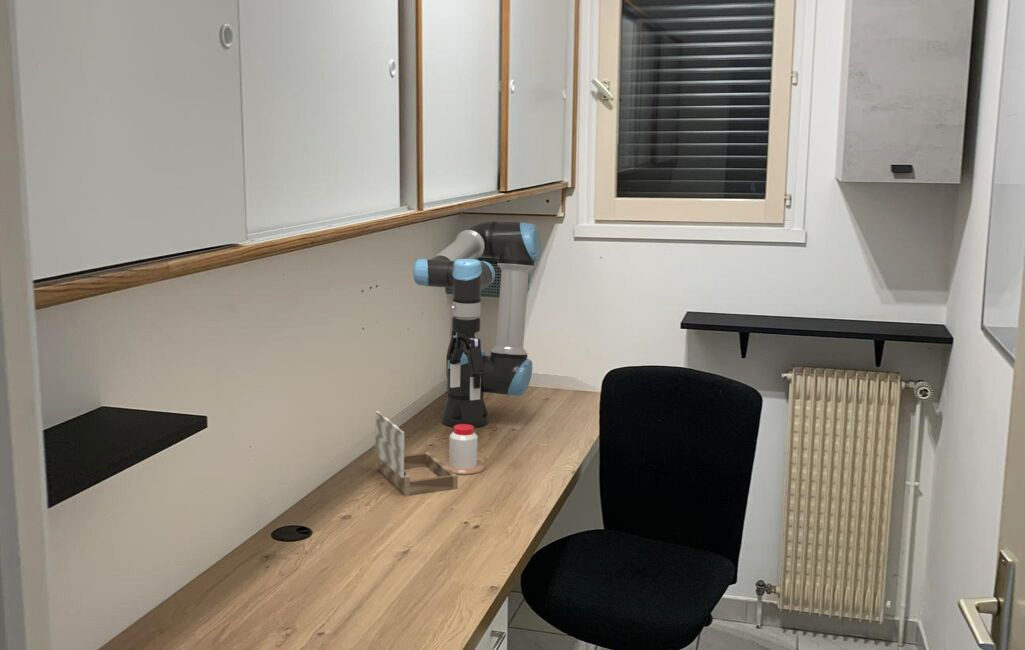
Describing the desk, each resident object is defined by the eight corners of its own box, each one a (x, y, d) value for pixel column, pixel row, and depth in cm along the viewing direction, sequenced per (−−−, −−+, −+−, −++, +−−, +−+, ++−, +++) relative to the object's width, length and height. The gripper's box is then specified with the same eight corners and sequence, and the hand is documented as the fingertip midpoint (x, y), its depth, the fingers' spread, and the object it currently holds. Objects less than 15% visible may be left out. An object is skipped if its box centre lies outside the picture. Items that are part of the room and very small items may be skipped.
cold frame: (375, 471, 266) (375, 411, 263) (428, 464, 273) (429, 405, 270) (401, 496, 248) (401, 432, 245) (457, 488, 255) (458, 426, 252)
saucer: (434, 463, 273) (434, 460, 273) (473, 458, 279) (474, 455, 279) (451, 477, 263) (451, 474, 263) (491, 471, 268) (491, 469, 268)
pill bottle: (444, 462, 272) (445, 424, 270) (469, 458, 276) (470, 421, 274) (456, 471, 266) (456, 432, 264) (481, 467, 269) (482, 429, 267)
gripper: (436, 309, 272) (435, 383, 276) (472, 326, 250) (470, 406, 254) (460, 308, 275) (459, 380, 279) (498, 324, 253) (496, 403, 257)
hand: (464, 393), depth 267 cm, fingers open, 13 cm apart
